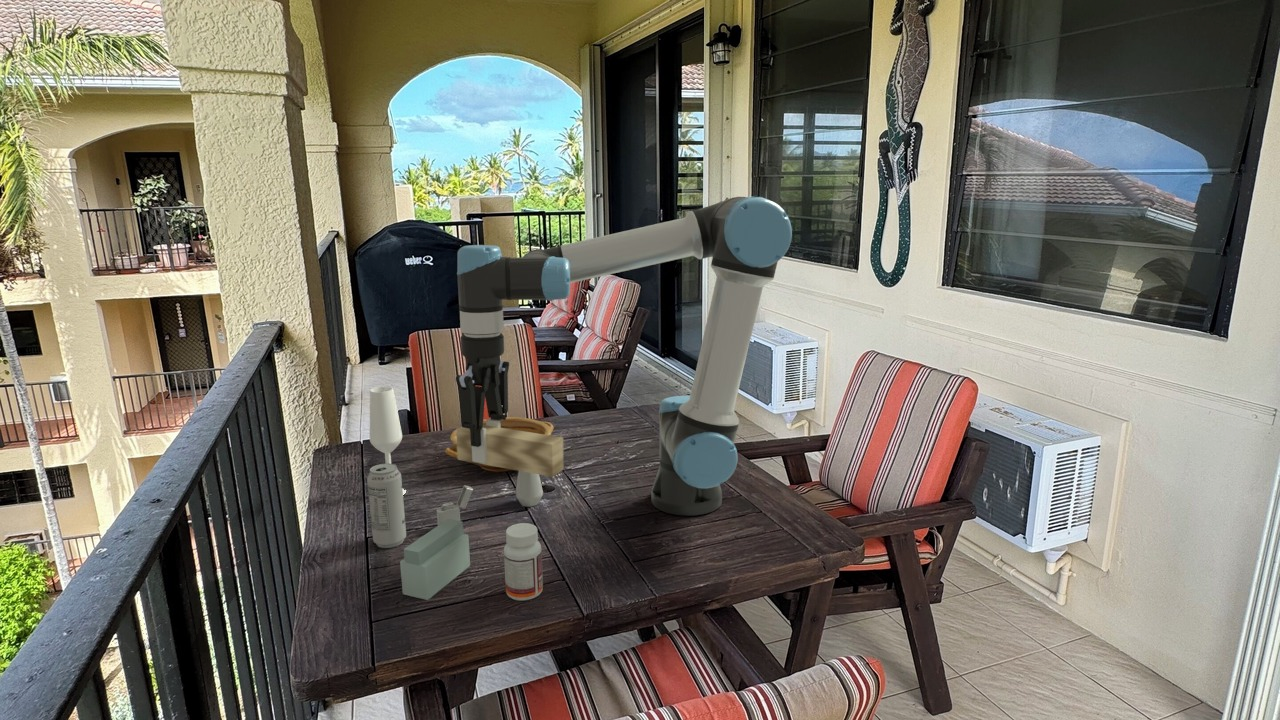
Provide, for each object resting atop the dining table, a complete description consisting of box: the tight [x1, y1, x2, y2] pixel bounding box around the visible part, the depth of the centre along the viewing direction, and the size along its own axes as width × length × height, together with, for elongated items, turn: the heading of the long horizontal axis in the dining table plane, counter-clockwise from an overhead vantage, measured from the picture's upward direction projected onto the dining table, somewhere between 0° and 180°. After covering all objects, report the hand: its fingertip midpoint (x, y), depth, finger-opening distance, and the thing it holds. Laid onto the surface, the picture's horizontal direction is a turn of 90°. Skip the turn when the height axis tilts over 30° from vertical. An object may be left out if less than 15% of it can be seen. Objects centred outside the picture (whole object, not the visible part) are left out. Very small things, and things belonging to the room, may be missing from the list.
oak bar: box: [455, 425, 564, 478], centre depth 131 cm, size 20×4×6 cm, turn 68°
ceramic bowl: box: [444, 416, 554, 472], centre depth 177 cm, size 30×24×8 cm
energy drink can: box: [366, 462, 407, 549], centre depth 136 cm, size 6×6×15 cm
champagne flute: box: [369, 386, 407, 495], centre depth 157 cm, size 7×7×24 cm
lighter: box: [436, 484, 474, 526], centre depth 143 cm, size 7×2×8 cm, turn 125°
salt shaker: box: [515, 470, 544, 508], centre depth 153 cm, size 6×6×13 cm
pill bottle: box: [503, 522, 544, 601], centre depth 119 cm, size 6×6×11 cm
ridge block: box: [399, 519, 471, 601], centre depth 124 cm, size 5×12×8 cm, turn 158°
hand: (487, 457), depth 134 cm, fingers closed on oak bar, 4 cm apart
